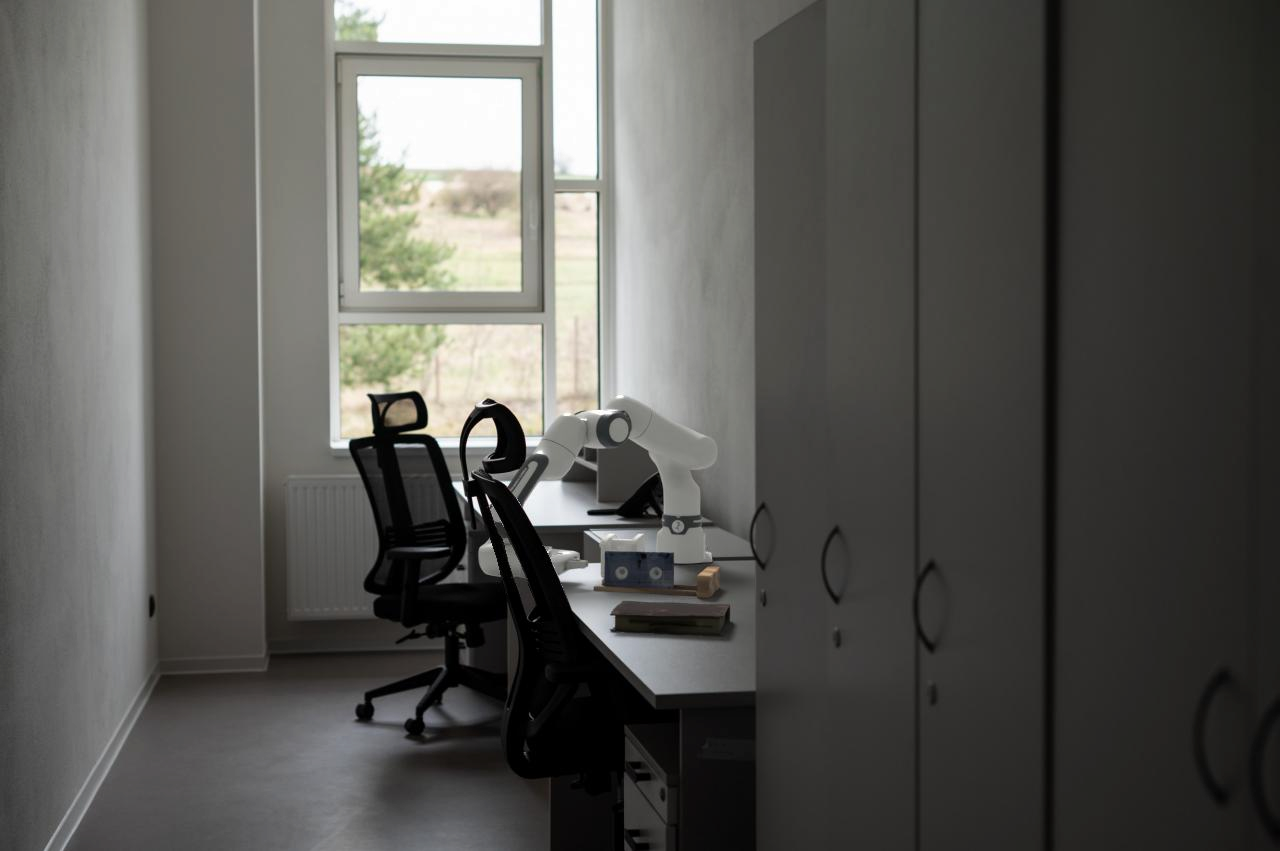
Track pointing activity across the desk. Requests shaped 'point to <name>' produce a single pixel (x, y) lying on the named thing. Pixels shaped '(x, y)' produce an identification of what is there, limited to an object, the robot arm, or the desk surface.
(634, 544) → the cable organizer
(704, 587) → the guide track
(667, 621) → the diary
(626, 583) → the vhs cassette tape
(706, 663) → the desk surface
